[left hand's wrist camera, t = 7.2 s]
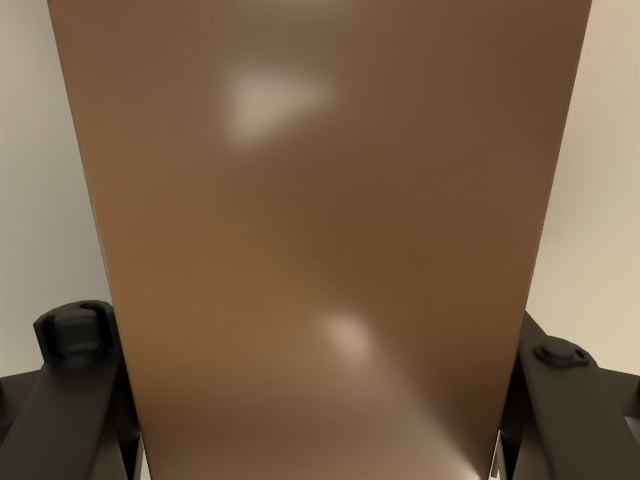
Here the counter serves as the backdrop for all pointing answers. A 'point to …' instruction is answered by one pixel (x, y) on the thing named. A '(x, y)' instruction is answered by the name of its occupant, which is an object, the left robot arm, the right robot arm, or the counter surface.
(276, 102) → the post
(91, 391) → the left robot arm
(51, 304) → the counter surface
